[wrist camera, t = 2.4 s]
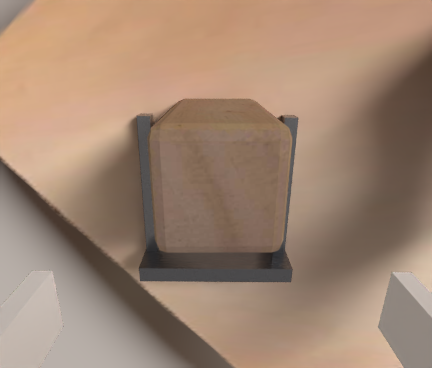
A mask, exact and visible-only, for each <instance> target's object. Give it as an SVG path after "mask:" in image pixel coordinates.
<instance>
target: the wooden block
mask: <svg viewBox="0 0 432 368" xmlns="http://www.w3.org/2000/svg"><path fill="white" fill-rule="evenodd" d="M147 141H148V154H149V167H150V180H151V193H152V207H153V220H154V233H155V241H156V243H157V245H158V247H159V250H161V251H164V252H167V253H216V252H274V251H277V250H279V249H280V247H281V244H282V242H283V238H284V227H285V216H286V204H287V193H288V182H289V171H290V159H291V148H292V135H291V132H290V129H289V127H287V126H286V125H285V124H283V123H282V122H281V121H280V120H278V119H277V118H276V117H275V116H273V115H272V114H271V113H270V112H268V111H267V110H266V109H265V108H263V107H262V106H261V105H260V104H258V103H257V102H256V101H253V100H251V99H183V100H181V101H179V102H178V103H177V104H176V105H175V106H173V107H172V108H171V109H170V110H169V111H168V112H167V113H166V114H165V115H164V116H163V117H162V118H161V119H160V120H159V121H157V122H156V123H155V124H154V125H153V126H152V127H151V129H150V132H149V135H148V137H147Z"/></svg>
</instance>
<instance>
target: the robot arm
mask: <svg viewBox="0 0 432 368" xmlns="http://www.w3.org/2000/svg"><path fill="white" fill-rule="evenodd" d="M63 327H64V325H63V320H62V315H61V310H60V305H59V300H58V295H57V291H56V286H55V281H54V276H53V271H45V270H44V271H40V270H38V271H36V270H35V271H34V270H32V271H31V273H30V274H29V275H28V276H27V277H26V278H25V279H24V280H23V282H22V283H21V284H20V285H19V286H18V287H17V288H16V289H15V290H14V291H13V293H12V294H11V295H10V296H9V297H8V298H7V299H6V301H5V302H4V303H3V304H2V305H1V306H0V368H40V367H41V365H42V363H43V361H44V360H45V358H46V356H47V354H48V353H49V351H50V349H51V348H52V346H53V344H54V342H55V341H56V339H57V337H58V336H59V334H60V332H61V330H62V329H63ZM378 328H379V329H380V331H381V332H382V334H383V336H384V337H385V339H386V340H387V342H388V343H389V345H390V347H391V348H392V350H393V351H394V353H395V354H396V356H397V358H398V359H399V361H400V362H401V364H402V365H403V367H404V368H432V293H431V292H430V291H429V290H428V289H427V288H426V287H425V286H424V285H423V284H422V283H421V282H420V281H419V280H418V278H417V277H416V276H415V275H414V274H413V273H412V272H392V273H391V277H390V281H389V285H388V289H387V293H386V297H385V301H384V305H383V309H382V313H381V317H380V321H379V326H378Z"/></svg>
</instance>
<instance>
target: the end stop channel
mask: <svg viewBox="0 0 432 368" xmlns="http://www.w3.org/2000/svg"><path fill="white" fill-rule="evenodd" d="M281 122H282V123H283V124H285V125H286V126H287V127H289V129H290V132H291V135H292V148H291V159H290V171H289V182H288V193H287V204H286V216H285V227H284V238H283V242H282V244H281V247H280V249H279V250H277V251H274V252H216V253H167V252H164V251H161V250H159V247H158V245H157V243H156V241H155V233H154V220H153V207H152V193H151V180H150V167H149V154H148V141H147V137H148V135H149V132H150V129H151V127H152V126H153V125H154V124H153V114H139V115H137V128H138V141H139V154H140V168H141V181H142V194H143V207H144V220H145V234H146V247H147V249H146V251H145V254H144V257H143V259H142V262H141V264H140V267H139V273H140V281H205V282H291V278H292V267H291V264H290V262H289V259H288V257H287V254H286V252H285V242H286V232H287V223H288V213H289V203H290V194H291V184H292V174H293V165H294V155H295V145H296V136H297V126H298V117H296V116H294V115H282V119H281Z"/></svg>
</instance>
